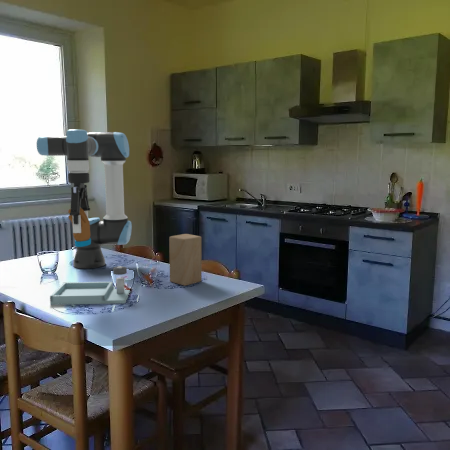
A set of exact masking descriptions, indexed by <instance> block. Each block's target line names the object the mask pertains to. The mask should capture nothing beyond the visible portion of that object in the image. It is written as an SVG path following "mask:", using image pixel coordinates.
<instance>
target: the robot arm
mask: <svg viewBox="0 0 450 450" xmlns="http://www.w3.org/2000/svg"><path fill="white" fill-rule="evenodd" d="M36 151H37V153H38V155H40V156H46V157H49V156H51V157H52V156H53V157H54V156H56V157H59V156H60V157H61V156H62V157H63V156H65V157H66V158H67V159H66V160H67V162H66V164H65V165H66V167H67V171H68V173H67V182H68V183H69V184H73V186H71V187H70V191H71V193H70V195H71V196H70V197H71V199H70V209H71V212H70V214H69V215H72V220H73V226H72V234H73V233H81V217H80V215H79V214H80V208H82V209H83V210H84V212H85V214H86V215H87V218H88V220H89V222H90V238H91V244H90V245H88V246H83V247H76V246H75V247H76V251H75V255H74V257H73V258H74V259H73V262H72V265H73V267H74V268H76V269H95V268H101V267H103V266H105V265H106V259H105V256H104V253H103V251H102V246H103V245H104V246H105V245H109V246H110V245H113V246H114V245H115V246H120V245H121V246H122V245H127V244H128V243H129V242H130V239H131V236H132V228H133V225H132V221H131V220H129V218H128V216H127V215H126V214H125V193H124V191H125V189H124V164H125V163H126V162H127V158H129V157H130V145H129V140H128V137H127V135H126V134H125V133H123V132H118V131H109V132H108V131H107V132H106V131H103V132H99V131H98V132H96V131H92V132H88V131H87V130H85V129H68V130H66V133H65V135H62V136H61V135H57V136H56V135H42V136H40V135H39V137H38V138H37V139H36ZM89 157H90V158H91V157H93V158H100V162H101V163H102V164H103V165H104V188H105V212H106V214H105V215H104V216H103V218H102V219H103V220H101V218H100V217H91V218H90V217H89V211H91V208H90V203H89V197H88V185H87V184H88V183H90V173H89V171H90V160H89Z"/></svg>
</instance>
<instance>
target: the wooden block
mask: <svg viewBox="0 0 450 450" xmlns="http://www.w3.org/2000/svg"><path fill="white" fill-rule="evenodd" d="M168 241H169V252H168V253H169V282H171V283H175V284H178V285H181V286H188V285H189V286H190V285H194V284H196V283H200V282H202V279H203V277H202V271H203V270H202V269H203V268H202V236H200V235H194V234H191V233H190V234H189V233H182V234H177V235H176V234H175V235H171V236H169V239H168Z"/></svg>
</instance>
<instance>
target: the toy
mask: <svg viewBox="0 0 450 450" xmlns="http://www.w3.org/2000/svg"><path fill="white" fill-rule="evenodd" d="M67 211H68V214H69V215H68V220H70V222H71V225H72V227H73V220H72V215H70V212H71V208H70V209H68V210H67ZM79 215H80V217H81V233H73V232H72V235H73V239H74V246H75V247H83V246H88V245H90V244H91V238H90V222H89V220H88V218H89V217H88V218H87V215H86V214H85V212H84V210H83V209H82V208H81V207H80V214H79Z"/></svg>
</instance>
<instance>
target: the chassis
mask: <svg viewBox="0 0 450 450" xmlns="http://www.w3.org/2000/svg"><path fill="white" fill-rule="evenodd" d="M115 280H116V281H115V282H116V284H115V285H116V286H114V285H113V284H114V283H113V281H88V282H87V281H85V282H84V281H83V282H81V281H79V282H77V281H74V282H73V281H72V282H71V281H69V282H62V283H61V284H60V286H58V287H57V288H56V289H55V291H54V292H53V293H52V294H50V296H49V301H50V302H49V305H50V306H52V305H57V306H59V305H100V304H101V305H102V304H103V305H109V304H110V305H112V304H116V305H118V304H126V303H127V301H128V298H129V296H130V294H129V293H131V291H130V290H125V289H124V286H125V277H116V279H115ZM115 287H117V289H115ZM128 295H129V296H128ZM126 300H127V301H126Z"/></svg>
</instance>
